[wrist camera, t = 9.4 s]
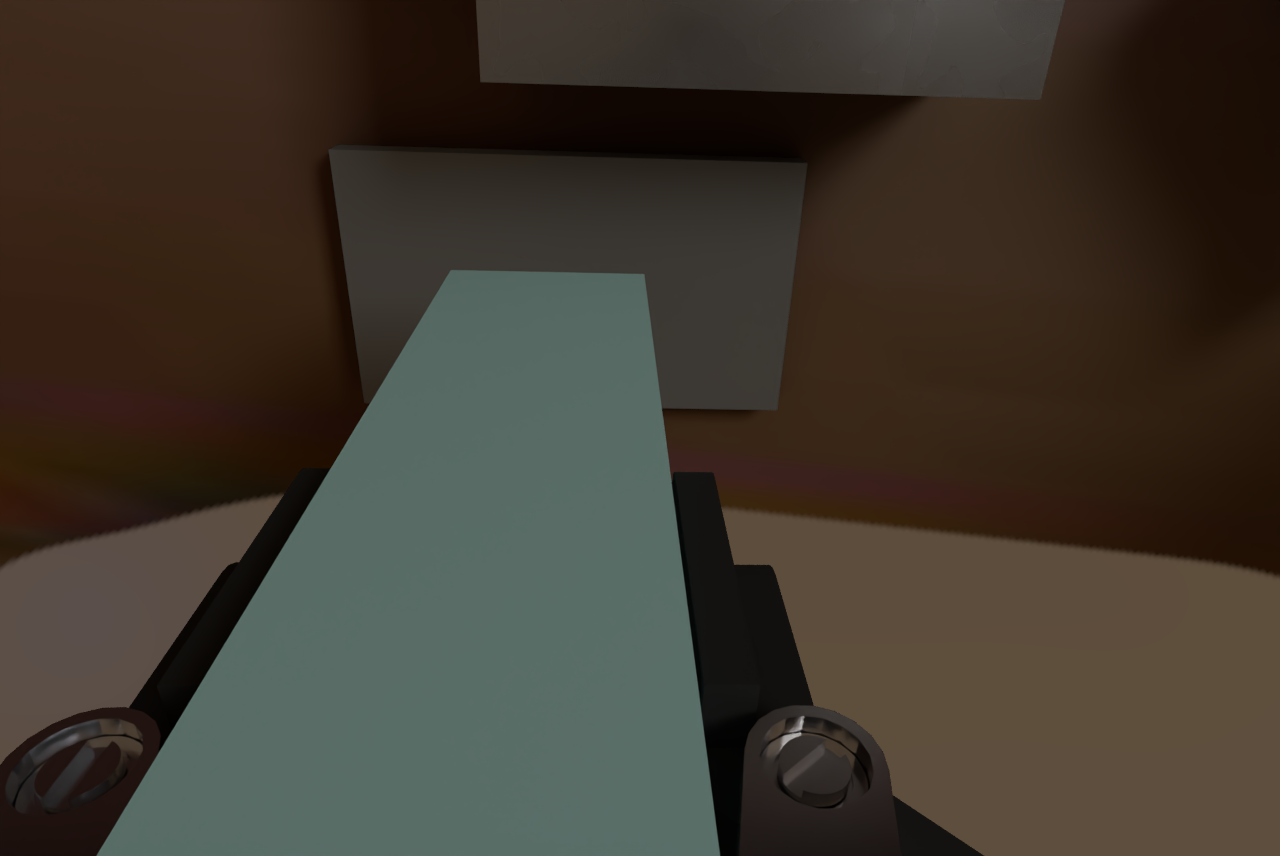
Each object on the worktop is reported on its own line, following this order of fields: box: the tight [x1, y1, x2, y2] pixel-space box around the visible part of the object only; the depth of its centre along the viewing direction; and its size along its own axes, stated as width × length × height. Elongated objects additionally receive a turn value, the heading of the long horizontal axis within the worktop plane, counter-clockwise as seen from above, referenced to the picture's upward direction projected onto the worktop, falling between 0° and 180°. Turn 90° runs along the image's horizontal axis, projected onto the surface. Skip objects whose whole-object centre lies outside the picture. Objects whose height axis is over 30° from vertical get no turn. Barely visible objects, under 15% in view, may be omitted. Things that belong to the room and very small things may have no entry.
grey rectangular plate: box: [328, 145, 808, 410], centre depth 22 cm, size 12×7×1 cm, turn 88°
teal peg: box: [97, 270, 720, 856], centre depth 11 cm, size 4×4×14 cm
